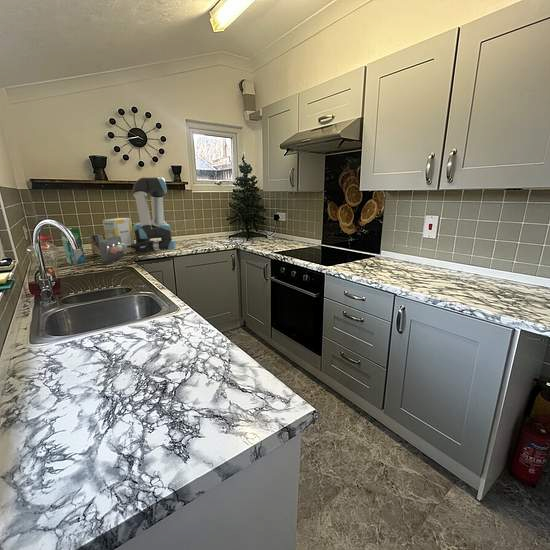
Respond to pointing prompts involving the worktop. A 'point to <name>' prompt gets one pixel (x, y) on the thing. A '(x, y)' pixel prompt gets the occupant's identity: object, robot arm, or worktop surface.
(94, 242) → the coffee box
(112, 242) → the button panel
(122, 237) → the pasta box
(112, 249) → the terracotta button
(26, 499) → the worktop surface
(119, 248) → the cream button
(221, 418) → the worktop surface
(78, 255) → the milk carton
